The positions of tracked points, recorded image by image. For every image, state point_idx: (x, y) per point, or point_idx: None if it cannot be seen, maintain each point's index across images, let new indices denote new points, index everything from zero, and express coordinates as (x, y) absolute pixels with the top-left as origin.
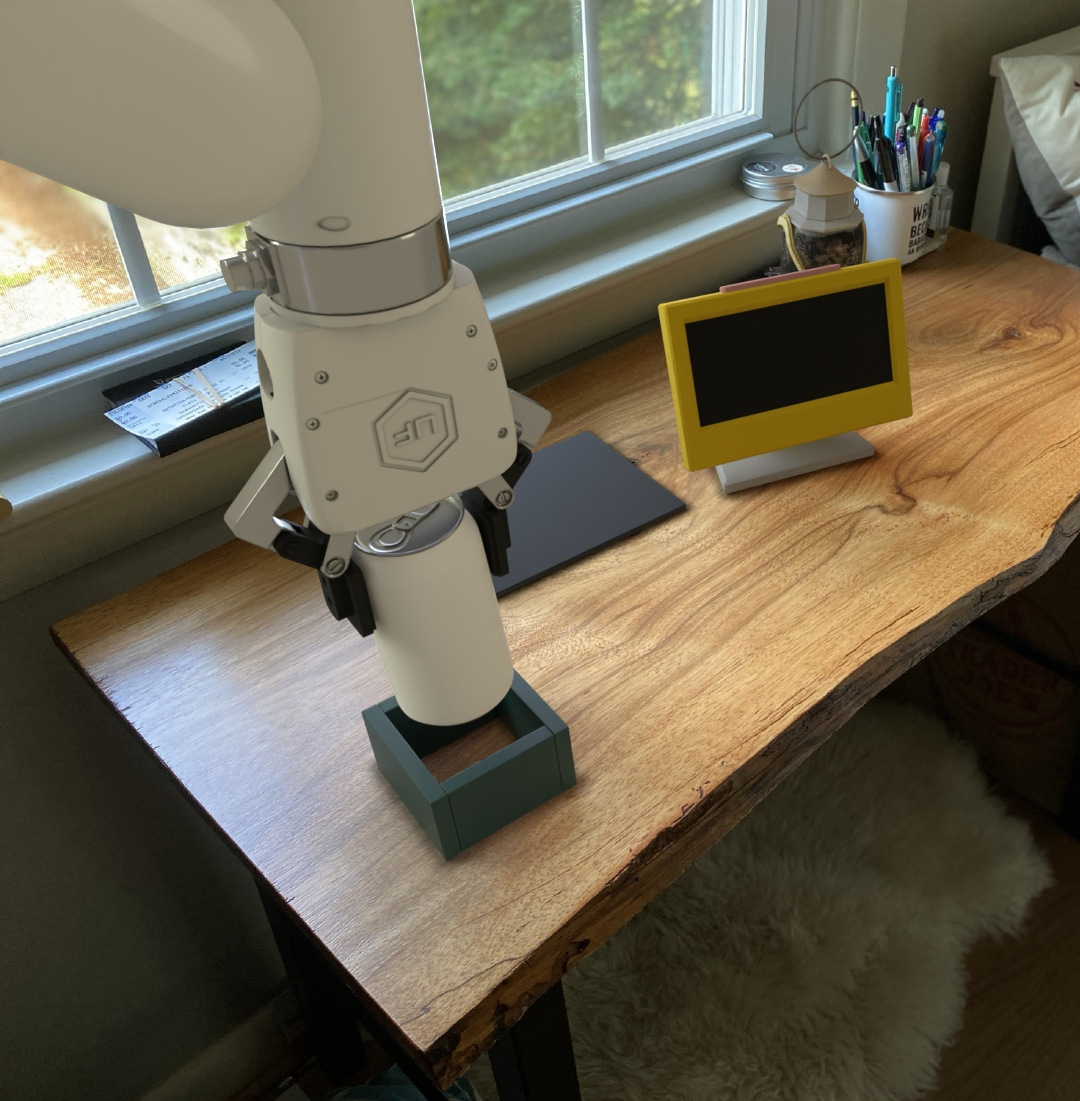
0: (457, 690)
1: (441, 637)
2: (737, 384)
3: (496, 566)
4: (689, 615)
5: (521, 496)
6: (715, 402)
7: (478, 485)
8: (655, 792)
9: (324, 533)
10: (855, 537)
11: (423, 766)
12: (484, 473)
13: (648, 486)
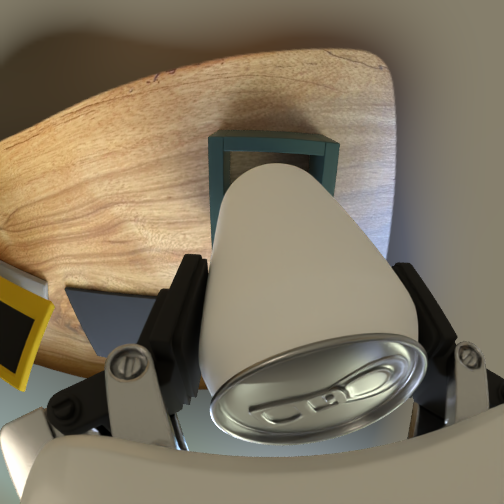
0: (306, 177)
1: (332, 208)
2: (10, 327)
3: (199, 267)
4: (88, 216)
5: None
6: (22, 326)
7: (172, 453)
8: (179, 92)
9: (426, 410)
10: (8, 213)
11: (323, 178)
12: (138, 487)
13: (78, 311)
